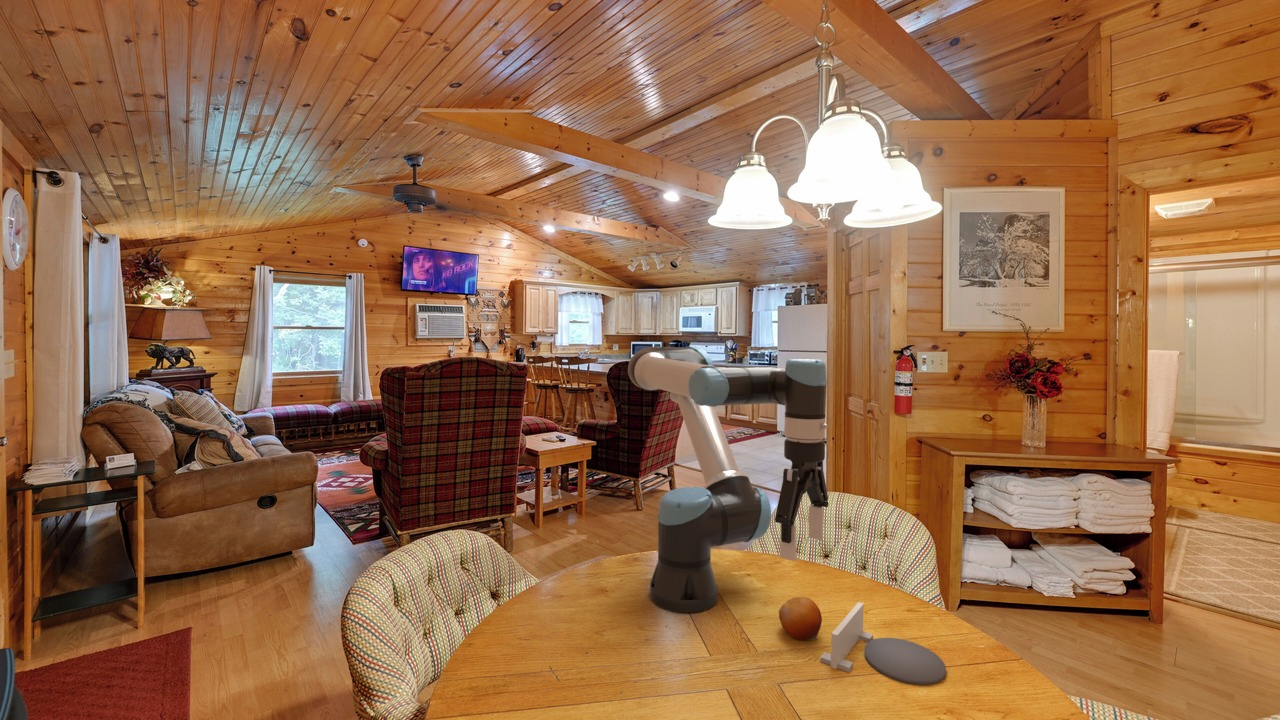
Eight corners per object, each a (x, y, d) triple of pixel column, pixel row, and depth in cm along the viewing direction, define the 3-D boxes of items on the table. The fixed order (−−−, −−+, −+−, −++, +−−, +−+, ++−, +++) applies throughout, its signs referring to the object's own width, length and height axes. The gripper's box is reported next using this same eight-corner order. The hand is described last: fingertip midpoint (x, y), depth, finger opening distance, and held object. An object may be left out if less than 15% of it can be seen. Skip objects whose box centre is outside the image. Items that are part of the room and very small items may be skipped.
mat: (854, 664, 95) (854, 660, 95) (875, 634, 105) (875, 630, 105) (937, 695, 87) (937, 690, 87) (951, 659, 97) (951, 655, 97)
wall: (819, 662, 96) (820, 629, 95) (847, 628, 107) (848, 598, 107) (848, 673, 92) (849, 639, 92) (873, 637, 104) (874, 606, 104)
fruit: (834, 641, 100) (812, 602, 100) (796, 658, 101) (774, 620, 102) (828, 619, 108) (807, 583, 108) (793, 635, 109) (772, 600, 110)
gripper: (797, 451, 92) (795, 574, 92) (845, 433, 111) (843, 535, 112) (757, 445, 96) (755, 562, 97) (810, 429, 116) (808, 527, 116)
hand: (802, 548), depth 104 cm, fingers open, 13 cm apart
